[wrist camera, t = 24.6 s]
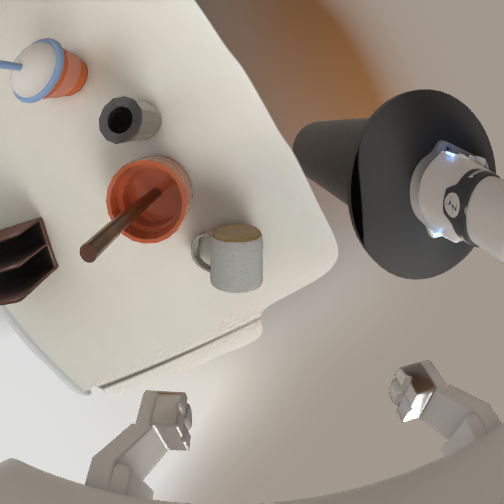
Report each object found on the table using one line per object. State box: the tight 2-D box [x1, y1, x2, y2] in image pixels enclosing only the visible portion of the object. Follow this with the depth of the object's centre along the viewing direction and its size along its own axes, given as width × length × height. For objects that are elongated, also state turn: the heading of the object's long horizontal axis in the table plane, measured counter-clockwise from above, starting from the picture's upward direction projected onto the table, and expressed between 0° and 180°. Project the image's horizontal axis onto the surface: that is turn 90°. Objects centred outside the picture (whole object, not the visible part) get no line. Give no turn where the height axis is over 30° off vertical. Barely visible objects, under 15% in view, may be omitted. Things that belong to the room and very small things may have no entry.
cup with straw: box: [0, 38, 87, 103], centre depth 24 cm, size 9×9×18 cm
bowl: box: [106, 156, 193, 243], centre depth 38 cm, size 11×11×6 cm
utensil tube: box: [99, 96, 161, 144], centre depth 33 cm, size 6×6×9 cm
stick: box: [80, 188, 161, 263], centre depth 30 cm, size 2×2×22 cm
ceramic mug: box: [191, 224, 263, 293], centre depth 42 cm, size 11×8×8 cm
